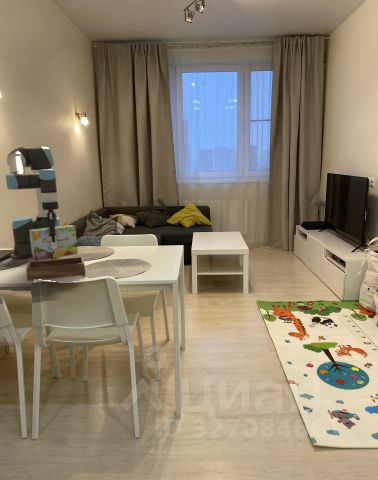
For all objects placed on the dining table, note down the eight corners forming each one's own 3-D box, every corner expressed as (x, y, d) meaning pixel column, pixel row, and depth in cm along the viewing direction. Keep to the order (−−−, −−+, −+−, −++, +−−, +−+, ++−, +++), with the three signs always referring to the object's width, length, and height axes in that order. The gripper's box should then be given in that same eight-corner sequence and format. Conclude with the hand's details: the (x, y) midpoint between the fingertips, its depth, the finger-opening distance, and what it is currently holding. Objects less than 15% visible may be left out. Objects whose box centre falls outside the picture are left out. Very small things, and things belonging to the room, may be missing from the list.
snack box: (35, 261, 177) (31, 230, 174) (32, 259, 182) (28, 229, 179) (78, 254, 189) (75, 225, 186) (74, 252, 194) (71, 224, 191)
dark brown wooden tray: (30, 272, 190) (28, 261, 189) (84, 266, 198) (83, 256, 197) (27, 280, 177) (26, 269, 176) (85, 274, 185) (84, 263, 184)
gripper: (42, 199, 188) (47, 243, 192) (40, 203, 169) (45, 251, 174) (58, 199, 190) (62, 242, 195) (57, 202, 171) (62, 250, 176)
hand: (54, 246), depth 184 cm, fingers closed on snack box, 7 cm apart
